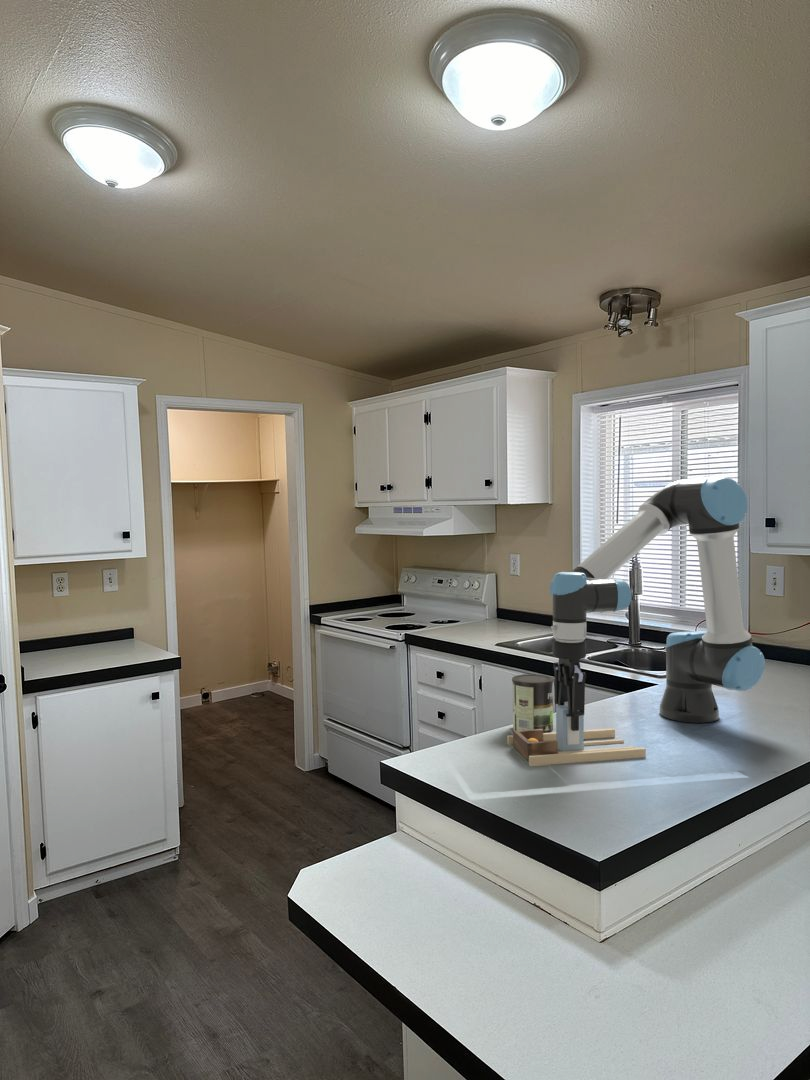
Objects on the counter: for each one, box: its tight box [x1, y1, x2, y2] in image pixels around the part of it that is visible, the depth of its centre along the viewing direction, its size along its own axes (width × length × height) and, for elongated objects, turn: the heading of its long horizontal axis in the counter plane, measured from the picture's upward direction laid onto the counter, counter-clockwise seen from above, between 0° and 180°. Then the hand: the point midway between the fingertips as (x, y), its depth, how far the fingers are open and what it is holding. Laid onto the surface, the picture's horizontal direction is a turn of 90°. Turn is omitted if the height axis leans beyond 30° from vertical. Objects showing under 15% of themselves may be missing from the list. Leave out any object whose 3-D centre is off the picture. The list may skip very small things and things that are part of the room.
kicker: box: [555, 701, 585, 752], centre depth 167 cm, size 5×4×11 cm
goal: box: [512, 729, 559, 762], centre depth 166 cm, size 7×10×4 cm
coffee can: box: [511, 673, 554, 733], centre depth 185 cm, size 10×10×14 cm
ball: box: [528, 738, 539, 742], centre depth 166 cm, size 4×4×4 cm
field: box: [506, 727, 647, 767], centre depth 168 cm, size 27×16×3 cm, turn 100°
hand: (569, 740), depth 168 cm, fingers closed on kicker, 4 cm apart
